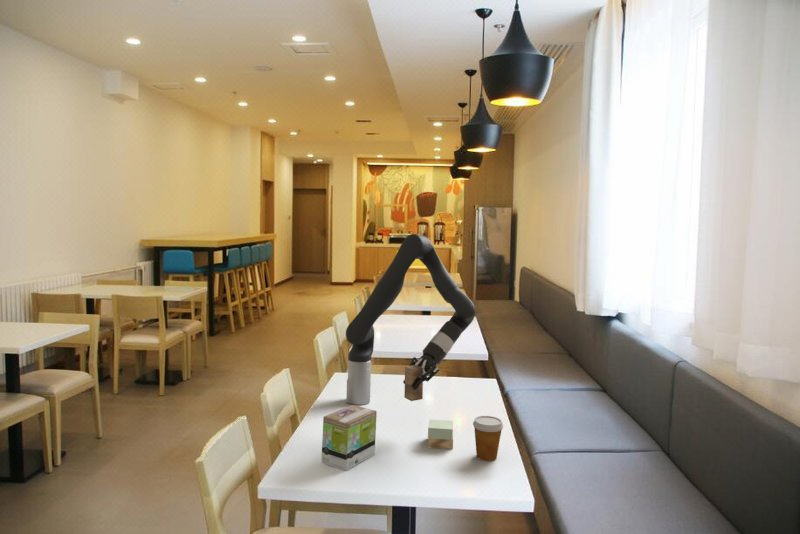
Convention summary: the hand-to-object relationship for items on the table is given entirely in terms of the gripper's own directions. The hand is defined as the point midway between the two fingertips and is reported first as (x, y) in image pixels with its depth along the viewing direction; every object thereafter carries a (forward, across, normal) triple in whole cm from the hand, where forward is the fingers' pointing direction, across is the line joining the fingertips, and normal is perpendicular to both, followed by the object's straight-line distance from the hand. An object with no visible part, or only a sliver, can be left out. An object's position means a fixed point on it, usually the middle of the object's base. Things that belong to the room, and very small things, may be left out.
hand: (409, 386), depth 198 cm
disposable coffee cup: (+4, +27, +22) cm, 35 cm away
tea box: (+31, +8, -6) cm, 33 cm away
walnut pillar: (+2, 0, +5) cm, 5 cm away
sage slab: (+6, +11, +14) cm, 19 cm away
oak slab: (+9, +11, +17) cm, 22 cm away
